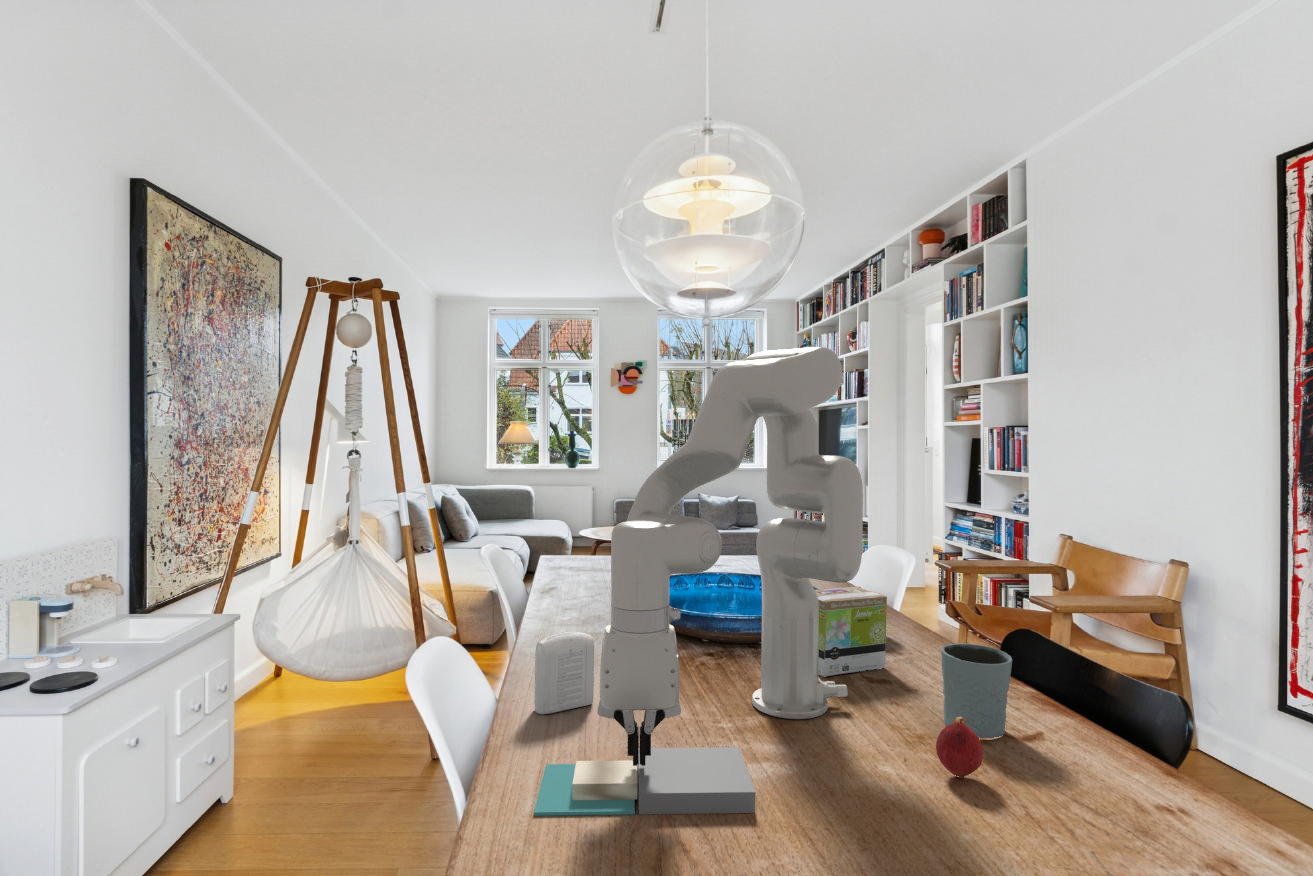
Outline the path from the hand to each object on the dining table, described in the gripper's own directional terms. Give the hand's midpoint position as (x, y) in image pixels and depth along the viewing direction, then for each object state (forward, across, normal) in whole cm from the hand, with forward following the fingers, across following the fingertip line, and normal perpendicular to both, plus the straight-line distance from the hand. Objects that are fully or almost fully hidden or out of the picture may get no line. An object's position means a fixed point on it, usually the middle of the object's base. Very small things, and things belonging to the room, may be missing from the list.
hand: (639, 760), depth 88 cm
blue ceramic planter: (+4, -53, -17) cm, 56 cm away
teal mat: (+4, +7, 0) cm, 8 cm away
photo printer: (+4, +12, -27) cm, 30 cm away
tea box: (+4, -41, -47) cm, 62 cm away
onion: (+4, -43, -2) cm, 43 cm away
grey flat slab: (+4, -7, 0) cm, 8 cm away
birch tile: (+3, +4, 0) cm, 5 cm away
